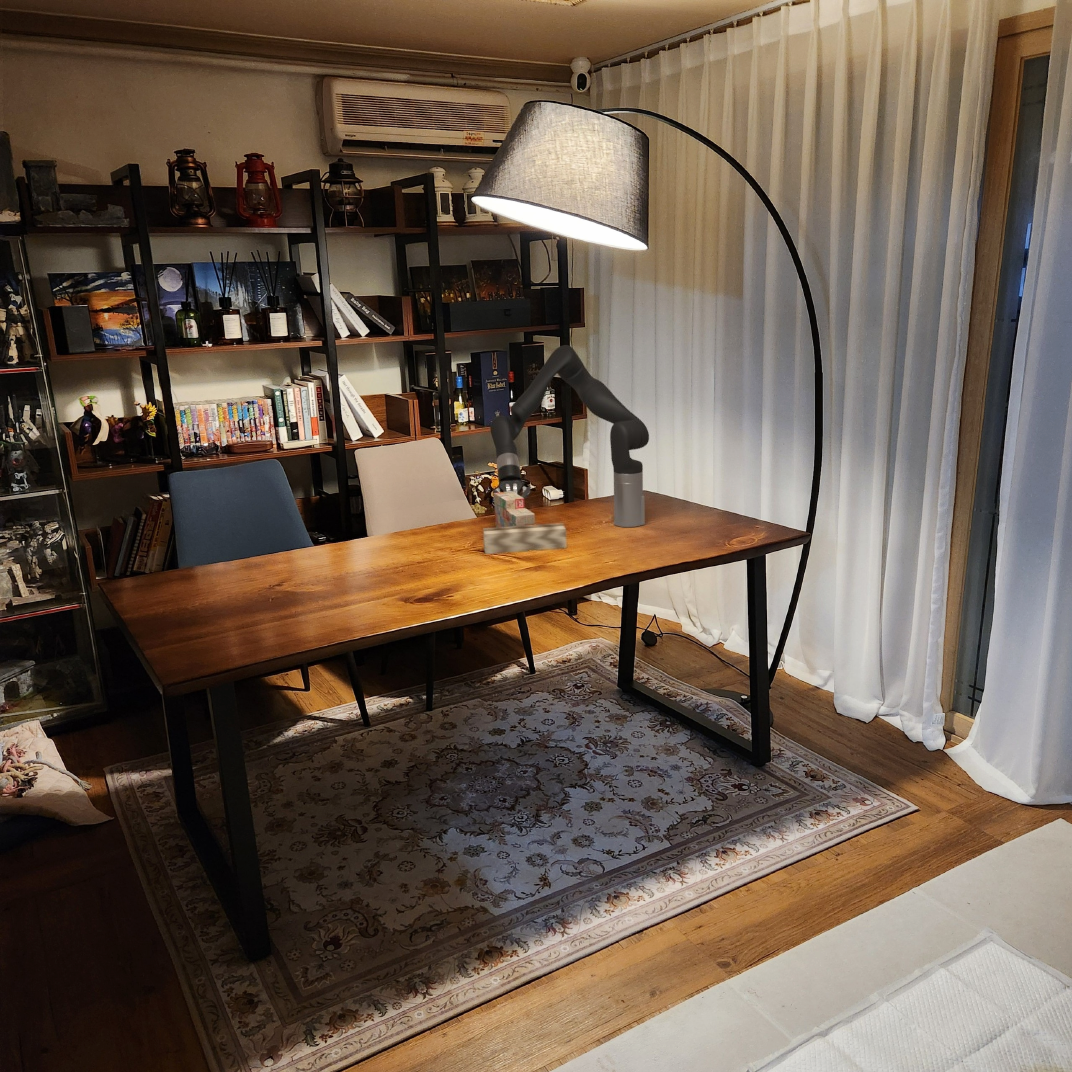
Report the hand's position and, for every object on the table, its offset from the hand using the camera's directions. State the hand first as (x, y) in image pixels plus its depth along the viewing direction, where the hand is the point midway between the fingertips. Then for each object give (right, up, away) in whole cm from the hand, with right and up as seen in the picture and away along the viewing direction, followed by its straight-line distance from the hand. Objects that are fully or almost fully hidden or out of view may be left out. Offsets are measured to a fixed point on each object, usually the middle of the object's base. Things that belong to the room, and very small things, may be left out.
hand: (514, 514), depth 297 cm
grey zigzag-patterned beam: (+4, -11, -24) cm, 26 cm away
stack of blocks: (0, -7, -10) cm, 12 cm away
